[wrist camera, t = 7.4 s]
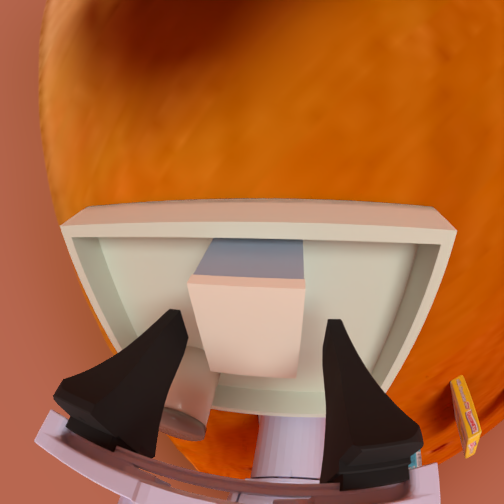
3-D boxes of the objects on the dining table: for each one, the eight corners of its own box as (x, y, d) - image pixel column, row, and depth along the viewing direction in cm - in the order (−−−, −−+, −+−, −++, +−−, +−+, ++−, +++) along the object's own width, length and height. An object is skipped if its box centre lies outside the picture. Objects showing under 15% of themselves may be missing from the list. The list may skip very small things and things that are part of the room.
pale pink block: (298, 313, 17) (296, 378, 13) (229, 310, 18) (210, 371, 14) (303, 228, 14) (305, 288, 10) (218, 227, 15) (186, 283, 10)
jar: (226, 380, 23) (209, 445, 17) (179, 372, 23) (156, 432, 18) (218, 349, 20) (196, 424, 15) (165, 341, 21) (134, 408, 15)
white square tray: (367, 389, 22) (370, 414, 20) (154, 372, 26) (144, 394, 23) (432, 207, 13) (457, 230, 10) (87, 206, 16) (59, 225, 14)
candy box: (466, 411, 25) (475, 453, 18) (454, 417, 26) (462, 460, 19) (464, 372, 20) (482, 433, 13) (448, 380, 21) (464, 442, 14)
